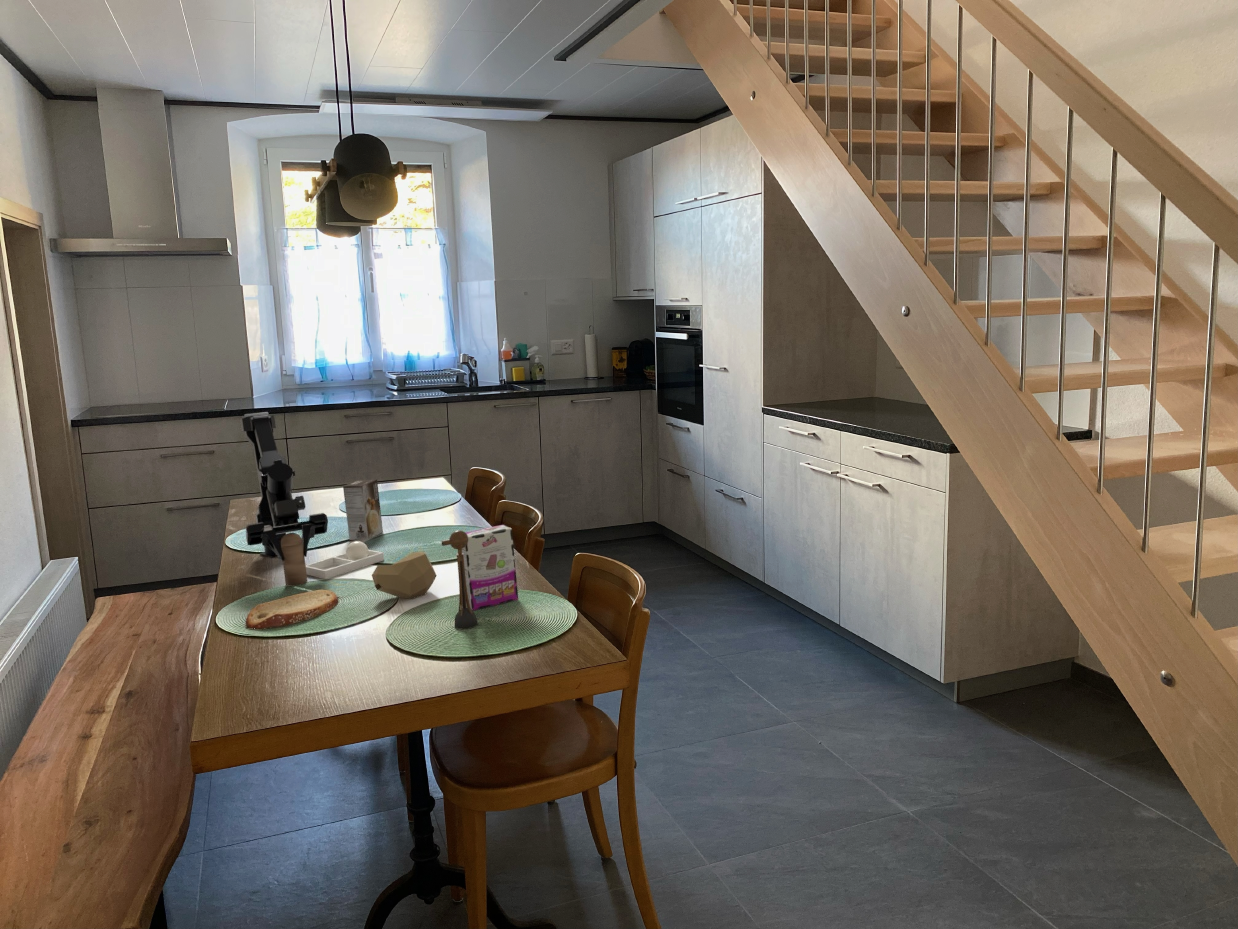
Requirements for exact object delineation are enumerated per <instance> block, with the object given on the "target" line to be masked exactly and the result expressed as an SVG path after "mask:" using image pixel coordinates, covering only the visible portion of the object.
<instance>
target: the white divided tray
mask: <svg viewBox="0 0 1238 929" xmlns="http://www.w3.org/2000/svg"><path fill="white" fill-rule="evenodd" d="M382 561H385V557H384V551H383V552H382V551H377V550H372V549H368V556H367V557H365V558H362V559H359V560H356V561H352V560H349V559H348V558H347V556H346V552H344V553H341V554H337V555H335V556H330V557H327V558H325V559H321V560H319V561H314V562H311V563H308V564H305V566H306V574H307V576H310V577H315V578H320V579H324V580H328V579H331V578H334V577H337V576H340V575H343V574H347V573H349V572H351V571H352V572H353V571H356V570H358V569H363V568H364V567H367V566H370V565H373V564H377V563H379V562H382Z"/></svg>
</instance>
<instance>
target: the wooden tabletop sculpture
mask: <svg viewBox="0 0 1238 929" xmlns="http://www.w3.org/2000/svg"><path fill="white" fill-rule="evenodd" d="M465 532H466V531H463V530H462V529H461V530H460V529H459V530H455V531H453V532H452V533H451V534H450V536H449V539H445V540H441V546H442V547H444V546H449V545H450V546H451V548H453V549H454V550H457V553H456V554H455V555H456V562H457V571H458V572H457V573H458V574H457V575H458V586H459V587H458V588H459V589H458V590H459V591H458V592H459V597H458V598H459V599H458V600H459V604H458V611H457V613H456V614H455V617H454V628H455V629H458V630H469V629H472V628H476V626H478V625H479V624H478V617H477V614H476V612H474V610H471V607H470V604H469V598H468V593H467V586H466V577H465V567H464V553H462V548H465V547H466V545H467V544H468V540H469V539H468V535H467V534H466V533H465ZM466 603H467V606H466Z"/></svg>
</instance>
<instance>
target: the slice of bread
mask: <svg viewBox="0 0 1238 929" xmlns="http://www.w3.org/2000/svg"><path fill="white" fill-rule="evenodd" d="M338 598H339V597H338V595H337V594H336V593H335V592H333V591H331V590H327V589H317V590H309V591H305V592H300V593H298V594H297V593H295V594H293V595H288V596H285V597H281V598H279V599H274V600H273V599H272V600H271V601H267V602H263V603H258V604H257V605H256V606H255V607H253V608H252V609H251V610H250V611H249V613H248V614H247V616H246V618H245V626H246V629H247V628H253V629H252V630H254V628H255V629H262V630H265V629H264V628H267V629H271V628H270V627H273V628H281V626H282V627H287V626H291V625H290V624H292V625H294V623H295V624H298V622H299V623H302V622H305V621H308V620H310V619H314V618H317V616H320V615H322V614H325V613H327V612H329V611H331V610H332V609H333V608H335V607H336V606H337V605H338V603H339V599H338ZM286 625H287V626H286Z"/></svg>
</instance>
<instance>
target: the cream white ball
mask: <svg viewBox="0 0 1238 929" xmlns="http://www.w3.org/2000/svg"><path fill="white" fill-rule="evenodd" d="M368 550H369V548H368V545H367V544H365V542H364V541H360V540H353V541H352V542H351V543H349V544H348V545H347V546H346V550H345V553H346V556H347V558H348V559H349V560H352V561H356V560H359V559H362V558H365V557H367V556H368Z"/></svg>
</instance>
